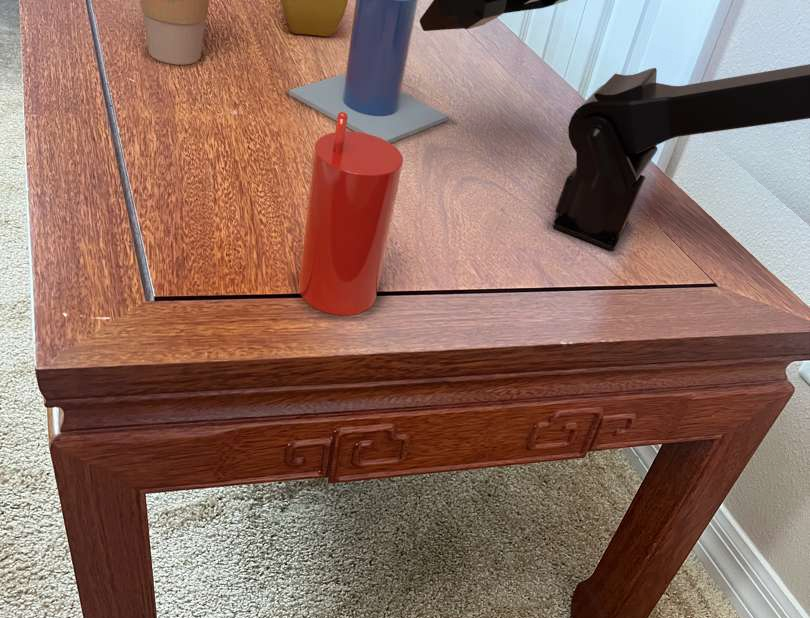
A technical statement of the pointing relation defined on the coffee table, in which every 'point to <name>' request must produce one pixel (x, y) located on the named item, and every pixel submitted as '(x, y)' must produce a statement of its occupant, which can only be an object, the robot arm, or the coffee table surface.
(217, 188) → the coffee table surface
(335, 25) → the flower pot
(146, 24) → the coffee cup
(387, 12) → the blue cylinder
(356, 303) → the red cylinder
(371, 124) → the gray mat
